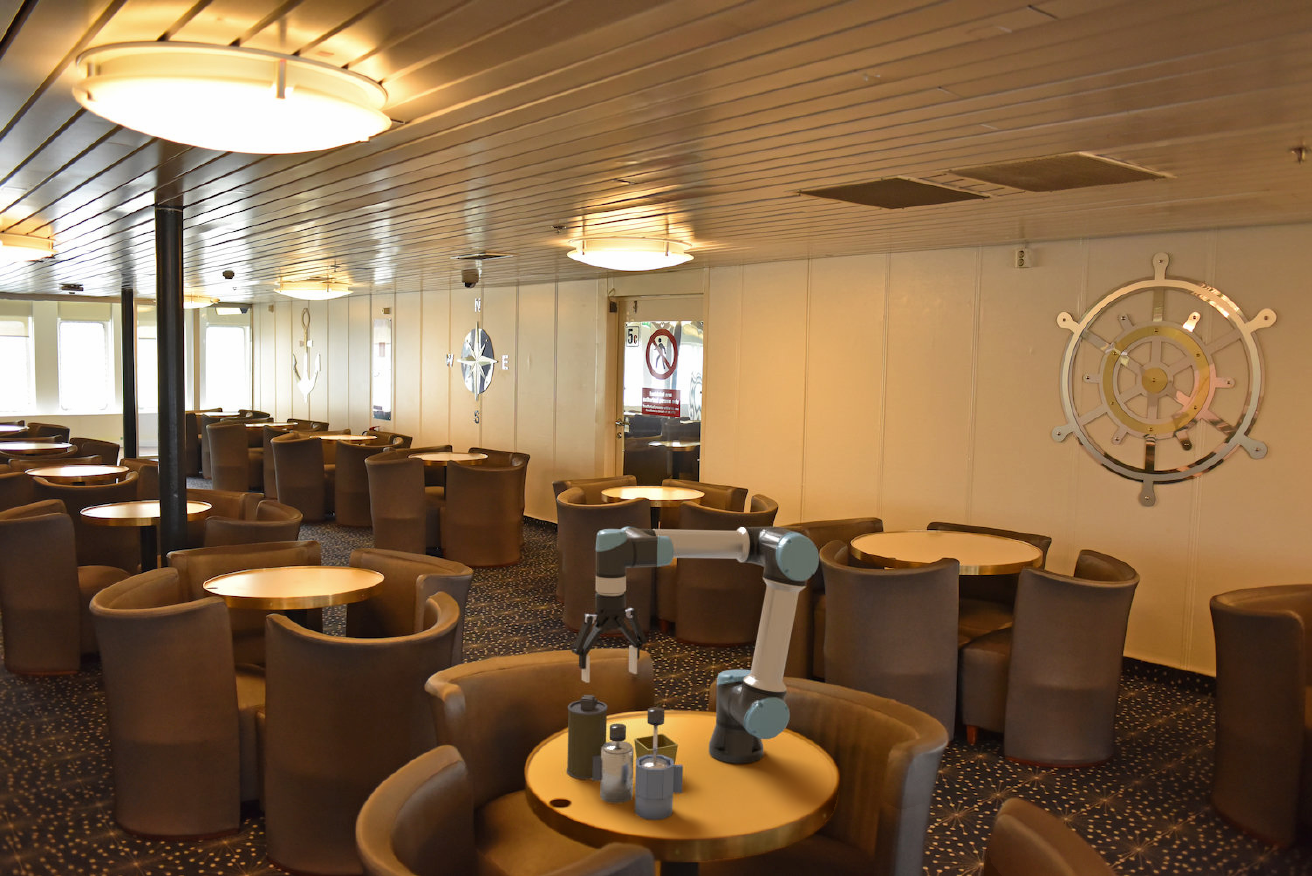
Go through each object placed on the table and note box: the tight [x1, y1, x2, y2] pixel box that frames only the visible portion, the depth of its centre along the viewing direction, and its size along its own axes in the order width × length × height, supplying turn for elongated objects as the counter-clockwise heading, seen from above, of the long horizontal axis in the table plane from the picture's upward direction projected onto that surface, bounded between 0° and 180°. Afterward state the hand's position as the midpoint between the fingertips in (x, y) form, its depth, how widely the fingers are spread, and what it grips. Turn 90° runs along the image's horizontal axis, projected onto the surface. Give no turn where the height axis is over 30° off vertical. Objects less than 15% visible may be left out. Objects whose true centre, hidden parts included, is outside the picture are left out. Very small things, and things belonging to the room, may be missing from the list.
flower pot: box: [633, 733, 679, 765], centre depth 246 cm, size 9×9×9 cm
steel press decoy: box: [591, 723, 635, 804], centre depth 233 cm, size 10×8×18 cm
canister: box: [566, 694, 608, 780], centre depth 247 cm, size 11×10×20 cm
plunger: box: [641, 706, 669, 769], centre depth 224 cm, size 7×7×14 cm
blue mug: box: [634, 755, 684, 821], centre depth 225 cm, size 11×9×12 cm
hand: (609, 676), depth 234 cm, fingers open, 13 cm apart
